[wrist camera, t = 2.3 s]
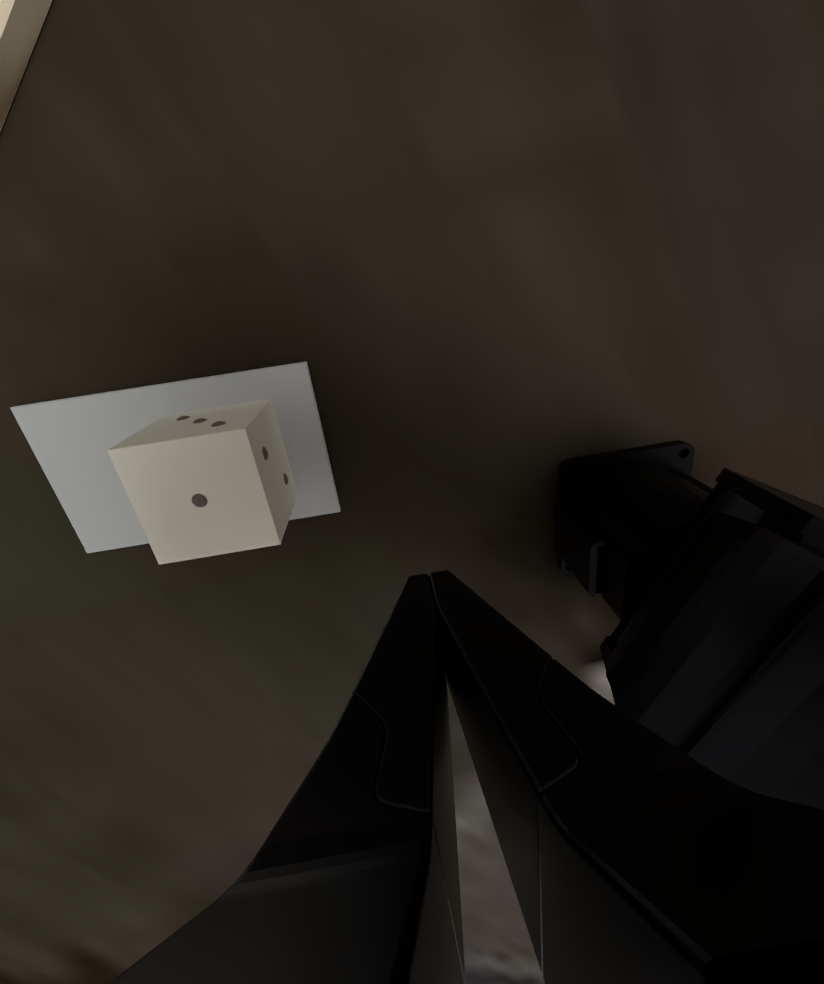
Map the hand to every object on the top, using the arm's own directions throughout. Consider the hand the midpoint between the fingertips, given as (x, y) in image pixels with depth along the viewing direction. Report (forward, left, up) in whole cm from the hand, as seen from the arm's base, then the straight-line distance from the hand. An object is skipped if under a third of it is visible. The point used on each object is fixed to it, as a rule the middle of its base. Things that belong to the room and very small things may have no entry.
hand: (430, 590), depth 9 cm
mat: (+9, 0, -12) cm, 15 cm away
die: (+7, 0, -12) cm, 14 cm away
